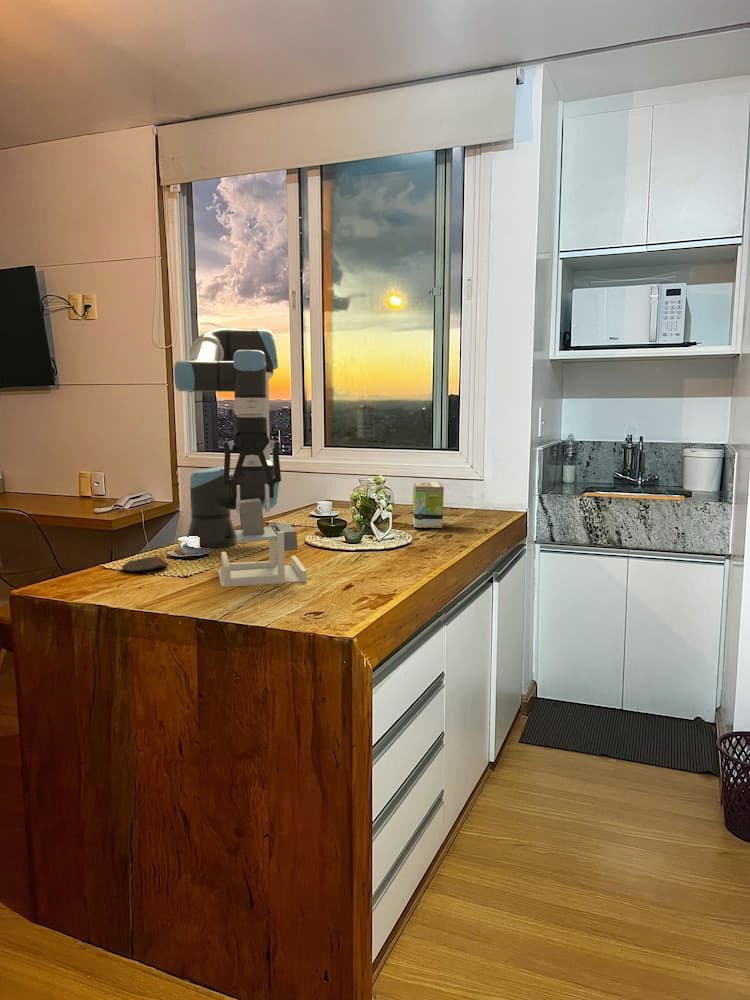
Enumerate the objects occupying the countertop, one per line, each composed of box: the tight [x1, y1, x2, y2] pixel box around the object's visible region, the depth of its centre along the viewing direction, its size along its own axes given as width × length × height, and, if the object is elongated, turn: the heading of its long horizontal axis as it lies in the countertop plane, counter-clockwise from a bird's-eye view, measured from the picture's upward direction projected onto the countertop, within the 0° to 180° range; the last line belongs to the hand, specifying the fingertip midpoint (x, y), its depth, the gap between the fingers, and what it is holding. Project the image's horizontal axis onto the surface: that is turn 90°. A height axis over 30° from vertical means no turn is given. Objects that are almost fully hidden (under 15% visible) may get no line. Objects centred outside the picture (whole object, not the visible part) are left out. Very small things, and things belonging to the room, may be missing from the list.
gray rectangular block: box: [239, 498, 265, 536], centre depth 176 cm, size 5×5×8 cm
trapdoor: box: [234, 522, 299, 552], centre depth 178 cm, size 13×14×4 cm
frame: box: [217, 520, 308, 588], centre depth 178 cm, size 18×20×12 cm
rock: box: [121, 555, 169, 572], centre depth 186 cm, size 11×12×3 cm
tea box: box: [412, 481, 445, 528], centre depth 251 cm, size 15×10×15 cm
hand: (253, 511), depth 176 cm, fingers open, 6 cm apart
